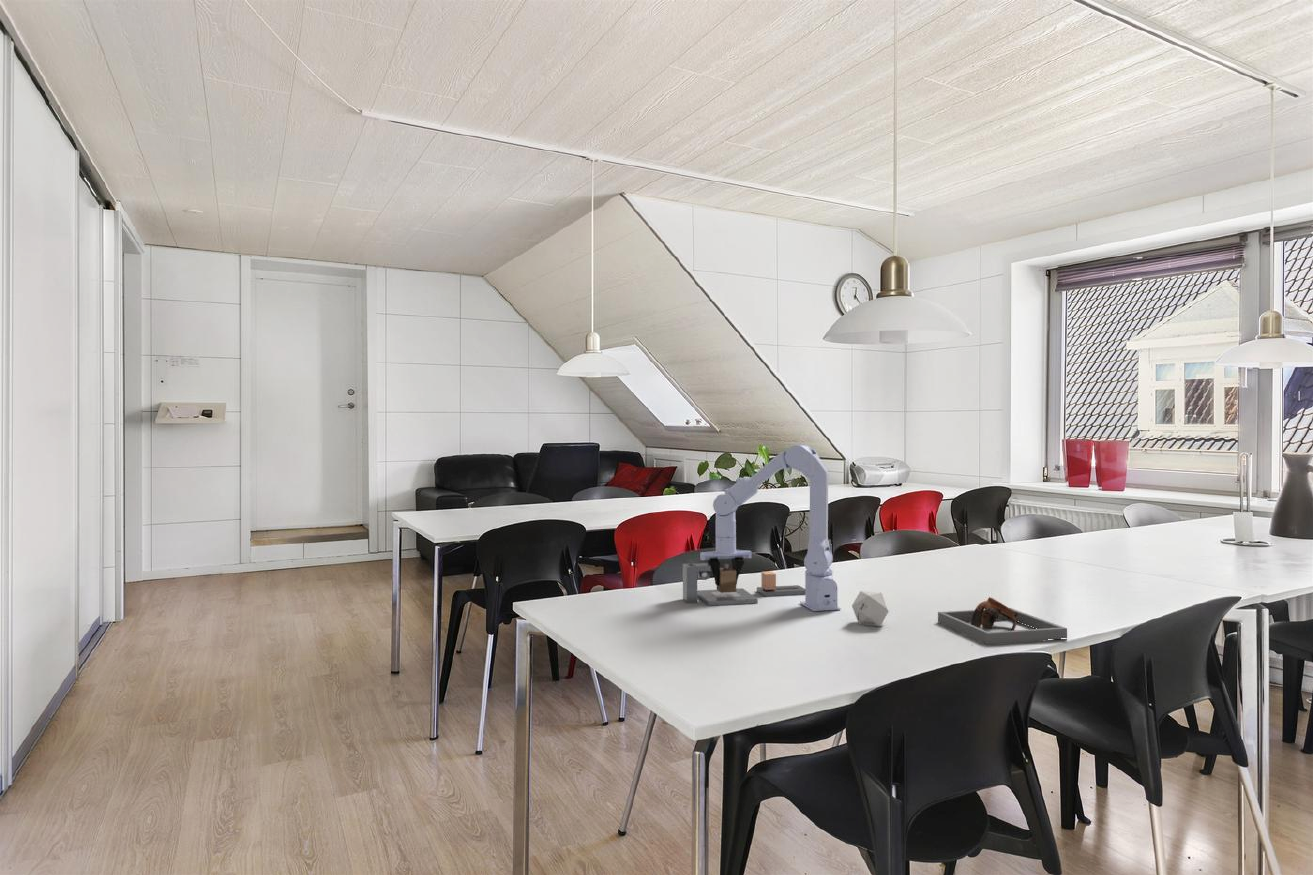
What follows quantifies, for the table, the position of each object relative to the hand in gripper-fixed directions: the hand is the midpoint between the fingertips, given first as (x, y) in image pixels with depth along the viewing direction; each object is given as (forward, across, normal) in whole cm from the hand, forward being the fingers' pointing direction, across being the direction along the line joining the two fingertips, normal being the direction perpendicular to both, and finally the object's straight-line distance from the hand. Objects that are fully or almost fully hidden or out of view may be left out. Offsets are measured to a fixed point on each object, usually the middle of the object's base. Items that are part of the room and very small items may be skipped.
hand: (726, 584), depth 215 cm
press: (+4, +3, 0) cm, 5 cm away
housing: (+2, 0, 0) cm, 2 cm away
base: (+4, -18, -4) cm, 19 cm away
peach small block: (+3, -14, -4) cm, 15 cm away
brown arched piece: (+4, -53, +44) cm, 69 cm away
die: (+4, -27, +34) cm, 44 cm away
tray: (+4, -54, +46) cm, 71 cm away
